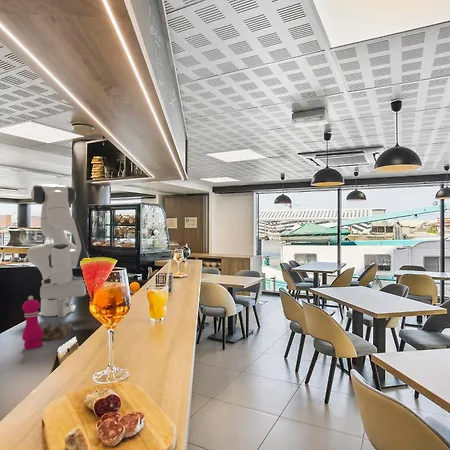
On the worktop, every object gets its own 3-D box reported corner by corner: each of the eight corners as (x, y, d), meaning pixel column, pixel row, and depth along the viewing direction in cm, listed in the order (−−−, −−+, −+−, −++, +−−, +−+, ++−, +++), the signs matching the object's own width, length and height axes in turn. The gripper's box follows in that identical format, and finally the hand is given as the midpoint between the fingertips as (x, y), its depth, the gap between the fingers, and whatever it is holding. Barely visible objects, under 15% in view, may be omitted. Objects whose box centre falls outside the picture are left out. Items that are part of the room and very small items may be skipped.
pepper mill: (20, 350, 130) (17, 298, 131) (25, 344, 137) (23, 295, 138) (41, 347, 132) (38, 296, 132) (45, 342, 139) (42, 293, 139)
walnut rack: (37, 332, 154) (37, 324, 154) (72, 329, 156) (72, 321, 156) (24, 343, 140) (24, 333, 140) (63, 338, 142) (62, 330, 142)
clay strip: (65, 310, 170) (65, 296, 170) (70, 310, 171) (70, 296, 171) (58, 317, 159) (57, 302, 158) (63, 316, 159) (62, 301, 159)
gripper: (86, 275, 169) (88, 303, 170) (42, 278, 166) (44, 306, 166) (83, 277, 163) (85, 306, 163) (37, 281, 160) (39, 310, 160)
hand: (64, 306), depth 165 cm, fingers closed on clay strip, 2 cm apart
